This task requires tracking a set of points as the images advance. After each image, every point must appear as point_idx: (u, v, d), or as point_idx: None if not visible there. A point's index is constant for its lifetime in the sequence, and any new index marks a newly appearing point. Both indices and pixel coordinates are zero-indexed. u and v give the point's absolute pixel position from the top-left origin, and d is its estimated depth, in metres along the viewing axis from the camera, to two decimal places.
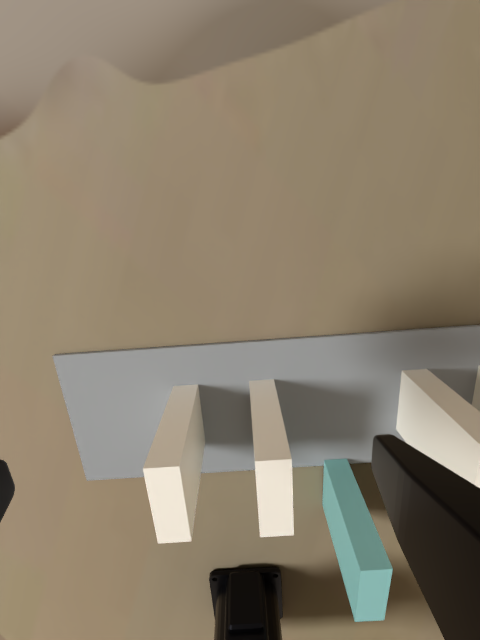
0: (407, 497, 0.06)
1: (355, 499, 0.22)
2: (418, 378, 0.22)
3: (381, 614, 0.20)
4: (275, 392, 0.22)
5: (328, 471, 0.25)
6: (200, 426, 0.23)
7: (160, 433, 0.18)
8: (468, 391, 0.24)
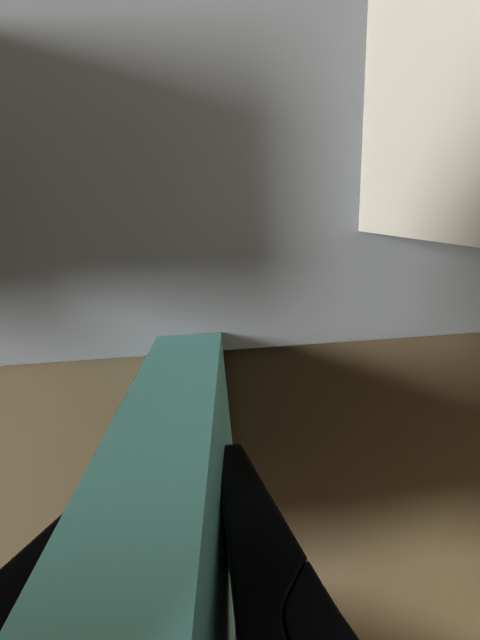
0: None
1: (181, 419, 0.06)
2: None
3: None
4: None
5: (149, 357, 0.08)
6: None
7: None
8: None
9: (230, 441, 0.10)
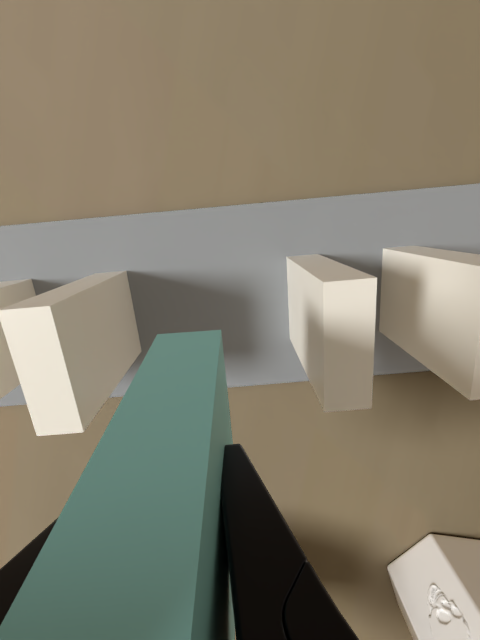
0: None
1: (181, 414, 0.06)
2: (299, 258, 0.17)
3: None
4: (113, 276, 0.17)
5: (149, 353, 0.08)
6: None
7: None
8: None
9: (230, 438, 0.10)
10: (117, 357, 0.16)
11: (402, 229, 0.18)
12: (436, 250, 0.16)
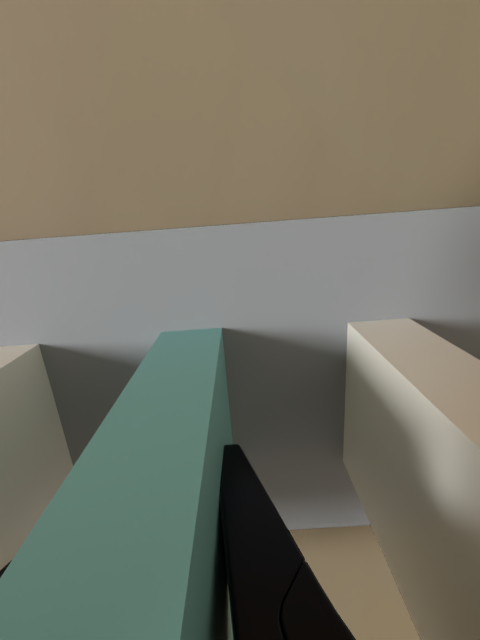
0: None
1: (184, 392, 0.06)
2: (384, 337, 0.08)
3: None
4: None
5: (154, 347, 0.09)
6: None
7: None
8: None
9: (230, 434, 0.10)
10: None
11: None
12: None
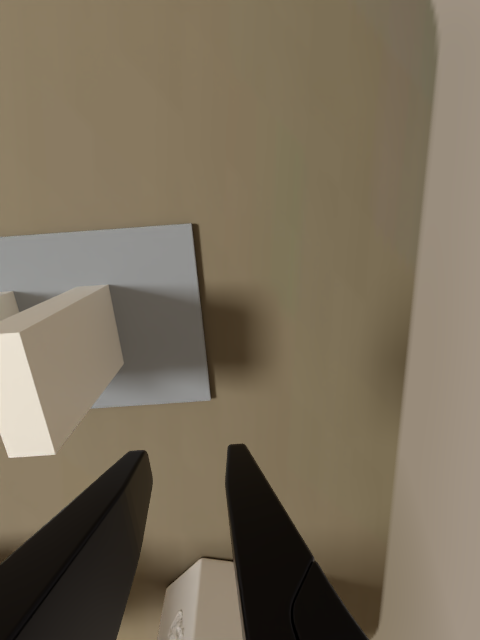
0: None
1: None
2: None
3: None
4: None
5: None
6: None
7: None
8: None
9: None
10: None
11: (91, 268, 0.18)
12: (79, 296, 0.16)
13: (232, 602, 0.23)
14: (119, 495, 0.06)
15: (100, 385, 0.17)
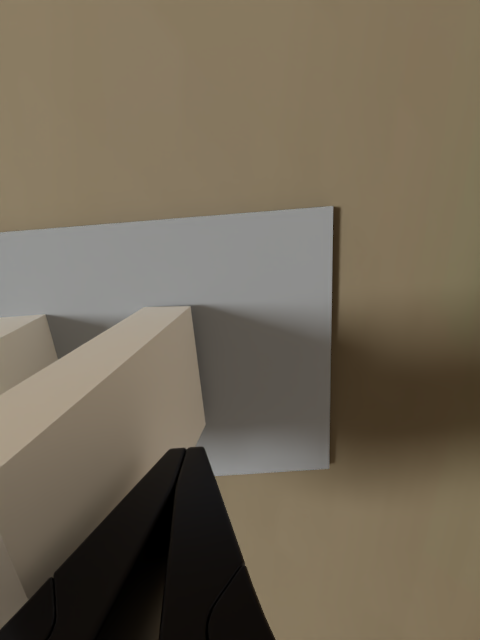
0: None
1: None
2: None
3: None
4: None
5: None
6: None
7: None
8: None
9: None
10: None
11: (168, 279, 0.12)
12: (144, 334, 0.09)
13: None
14: (170, 492, 0.06)
15: None
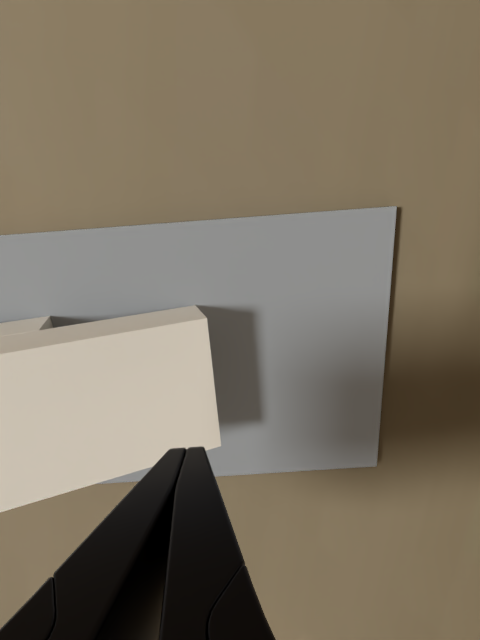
0: None
1: None
2: (5, 325, 0.11)
3: None
4: None
5: None
6: None
7: None
8: None
9: None
10: None
11: (230, 278, 0.12)
12: (117, 329, 0.10)
13: None
14: (170, 492, 0.06)
15: (121, 465, 0.11)
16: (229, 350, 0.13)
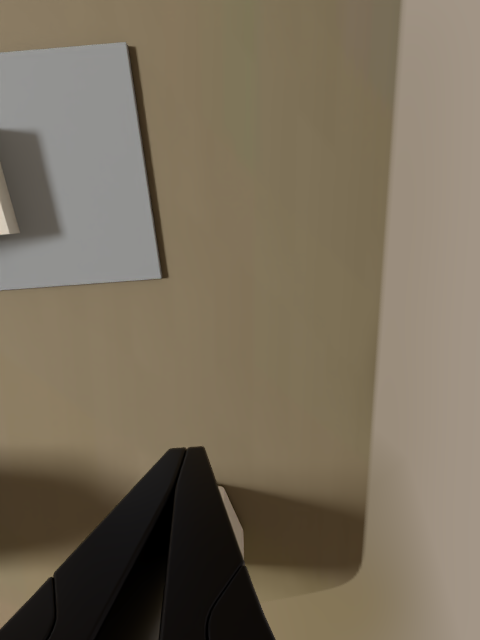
0: None
1: None
2: None
3: None
4: None
5: None
6: None
7: None
8: None
9: None
10: None
11: (12, 103, 0.16)
12: None
13: None
14: (170, 492, 0.06)
15: None
16: (24, 168, 0.16)
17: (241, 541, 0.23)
